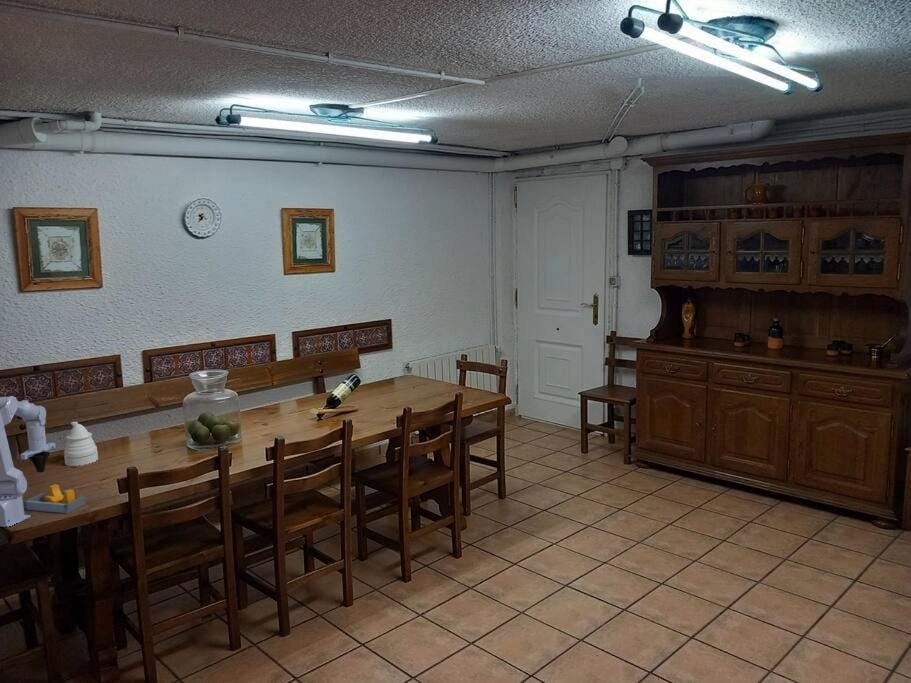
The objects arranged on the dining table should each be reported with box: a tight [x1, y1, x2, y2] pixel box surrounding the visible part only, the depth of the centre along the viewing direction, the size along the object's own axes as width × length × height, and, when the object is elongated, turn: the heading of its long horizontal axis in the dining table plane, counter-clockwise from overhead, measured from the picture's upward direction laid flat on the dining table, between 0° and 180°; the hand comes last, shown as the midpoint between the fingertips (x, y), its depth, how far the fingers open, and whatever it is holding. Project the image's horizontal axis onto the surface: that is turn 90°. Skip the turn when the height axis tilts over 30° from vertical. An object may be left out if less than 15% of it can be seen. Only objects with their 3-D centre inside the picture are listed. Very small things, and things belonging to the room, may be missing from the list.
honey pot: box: [63, 421, 99, 467], centre depth 305 cm, size 13×13×18 cm
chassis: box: [23, 492, 86, 514], centre depth 255 cm, size 9×18×3 cm, turn 77°
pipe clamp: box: [44, 483, 76, 504], centre depth 256 cm, size 12×4×6 cm, turn 58°
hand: (40, 471), depth 265 cm, fingers closed
